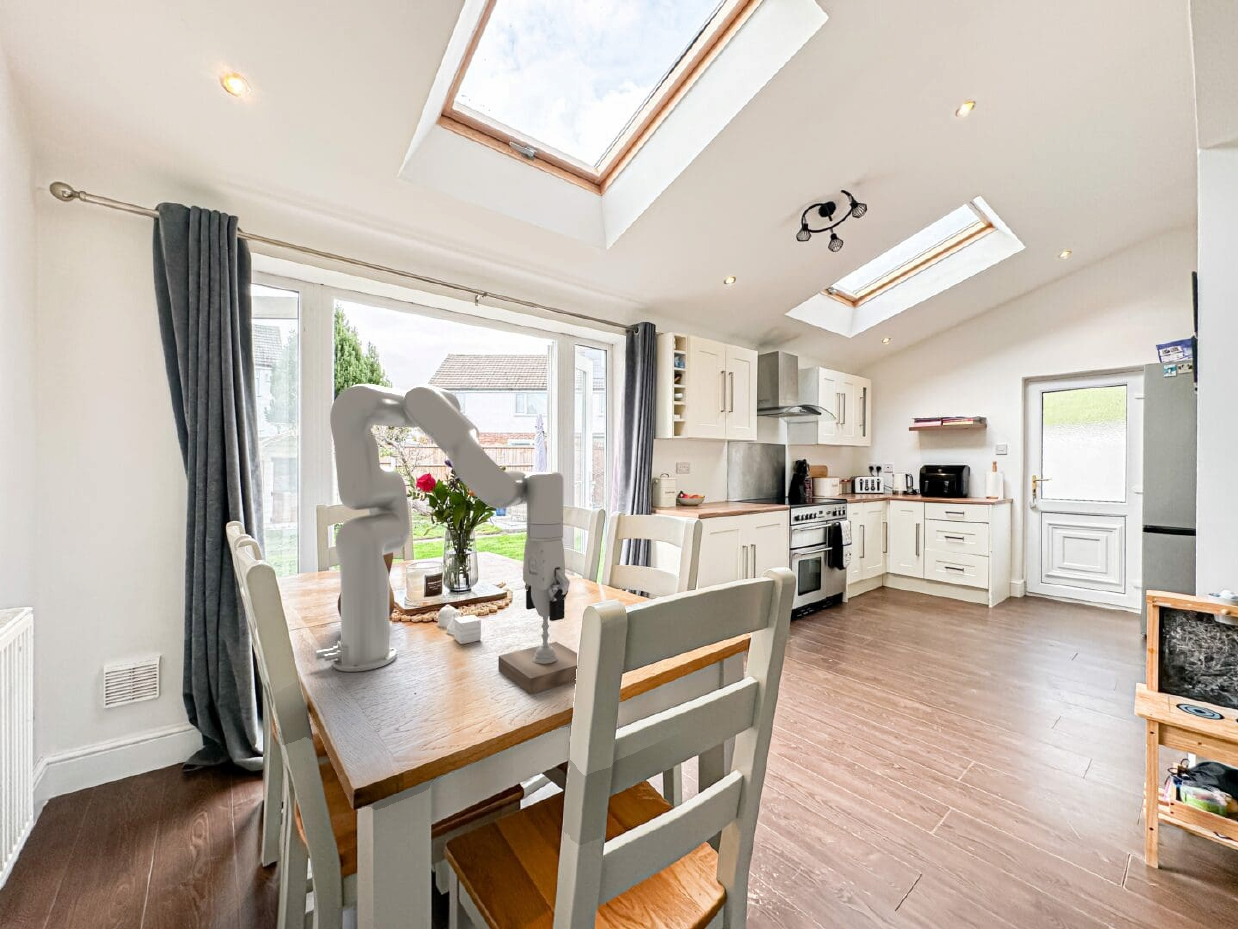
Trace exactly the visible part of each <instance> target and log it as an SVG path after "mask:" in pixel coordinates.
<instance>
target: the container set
mask: <svg viewBox="0 0 1238 929" xmlns="http://www.w3.org/2000/svg"><path fill="white" fill-rule="evenodd" d="M437 619H438V620H437V627H439V628H440V627H441V628H446V634H448V635H451V636H453V639H454V641H456V642H457V643H458V644H460V645H462V644H463V645H464V644H468V643H474V642H478V641H481V639H482V620H481V619H480V618H479V617H477V616H476V615H475V614H470V615H463V616H462V612H461V611H460V610H457V609H456V608H455V607H453V606H451V604H446V605H445V606H443V607H442V608H441V609H439V611H438V614H437Z"/></svg>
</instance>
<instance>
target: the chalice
mask: <svg viewBox="0 0 1238 929" xmlns="http://www.w3.org/2000/svg"><path fill="white" fill-rule="evenodd" d="M529 574H530V573H529ZM530 576H531V578H532V581H531V597H532V600H533V604H534V606H535V608H534V609H535V610H536V613H537V615H538V616H539V617H541V618H542V620H543V621H542V625H541V628H542V633H541V635H540V636H541V638H542V644H541V645H539V646H540V647H538V649H537V650H536V653H535V656H534V658H533V661H534V662H536V663H542V664H545V663H552V662H555V661H556V660H557V657H556V655H555V652H554V649H553V648H552V647H551V646H549V643H548V639H549V637H550V634H549V632H548V630H549V627H550V625H549V622H548V620H549V601H551V597H550V594H549V591H548V589H547V590H540V589H538V588H536V583H535V579H536V578H537V576H538V575H534V574H530ZM554 577H555V576H554ZM552 585H556V583H553V584H552ZM557 591H558V589H556V590H554V592H555V594H556V592H557Z"/></svg>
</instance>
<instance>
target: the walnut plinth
mask: <svg viewBox="0 0 1238 929" xmlns="http://www.w3.org/2000/svg"><path fill="white" fill-rule="evenodd" d="M548 644H549V646H551V647H552V648H553V649H554V652H555V655H556V657H557V660H556V661H555V662H552V663H545V664H542V663H536V662H534V661H533V658H534V656H535V653H536V650H537V649H538V647H540V646H541V645H537V646H533V647H528V648H525V649H520V650H516V651H512V652H509V653H504V654H500V655H498V658H497V659H498V660H497V661H498V664H497V665H498V671H499V672H500V673H501V674H502V675H505V677H507V678H508V679H509V680H511V681H513V682H514V683H515V684H516V685H517V686H519V687H520V688H522V689H523V690H524V691H525V692H526V693H527V694H529V695H533V694H536V693H540V692H543V691H547V690H550V689H553V688H556V687H557V686H562V685H565V684H568V683H571V682H575V681H576V680H575V679H576V669H577V652H576V651H574V650H572V649H571V648H569V647H567V646H565V645H563V644H561V643H559V642H558V641H553V642H549V643H548Z"/></svg>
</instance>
